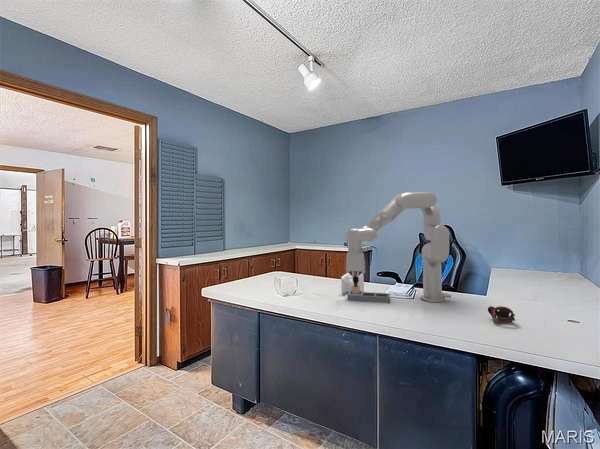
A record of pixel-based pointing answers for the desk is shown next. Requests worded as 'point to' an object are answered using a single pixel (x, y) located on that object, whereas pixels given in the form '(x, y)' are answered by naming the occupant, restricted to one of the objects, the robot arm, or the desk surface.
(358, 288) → the plug
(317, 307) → the desk surface
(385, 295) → the grey compartment tray
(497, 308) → the brown turtle figurine
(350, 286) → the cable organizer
